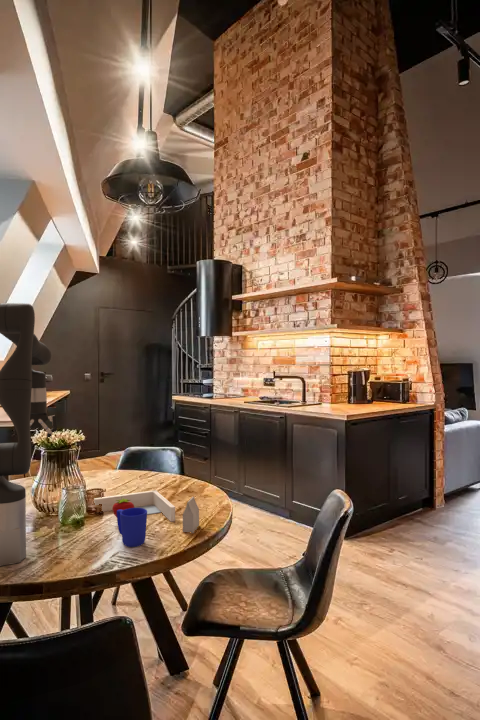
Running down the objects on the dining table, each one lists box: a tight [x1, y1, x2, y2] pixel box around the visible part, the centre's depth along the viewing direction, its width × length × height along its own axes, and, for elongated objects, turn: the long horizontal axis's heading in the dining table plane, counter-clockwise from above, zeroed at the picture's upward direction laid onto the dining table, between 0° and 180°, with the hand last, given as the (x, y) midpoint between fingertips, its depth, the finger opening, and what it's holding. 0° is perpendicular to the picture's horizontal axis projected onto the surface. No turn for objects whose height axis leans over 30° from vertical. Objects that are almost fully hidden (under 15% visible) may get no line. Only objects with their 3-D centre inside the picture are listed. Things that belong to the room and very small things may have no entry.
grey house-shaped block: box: [182, 496, 200, 534], centre depth 157 cm, size 4×7×10 cm, turn 169°
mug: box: [116, 508, 148, 548], centre depth 146 cm, size 8×12×10 cm
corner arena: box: [93, 489, 176, 523], centre depth 171 cm, size 24×24×5 cm
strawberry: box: [112, 498, 134, 518], centre depth 163 cm, size 6×8×10 cm
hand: (35, 444), depth 171 cm, fingers open, 8 cm apart
